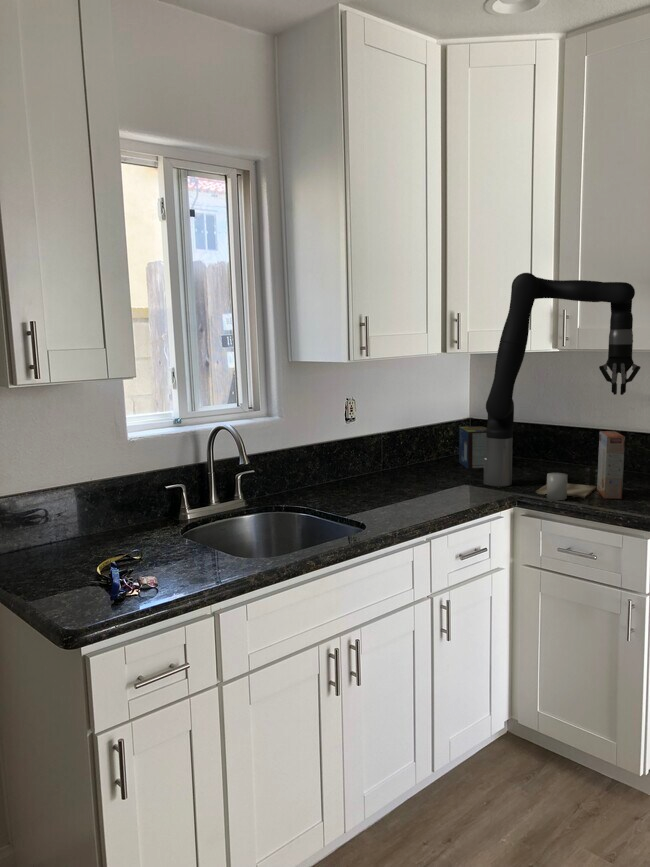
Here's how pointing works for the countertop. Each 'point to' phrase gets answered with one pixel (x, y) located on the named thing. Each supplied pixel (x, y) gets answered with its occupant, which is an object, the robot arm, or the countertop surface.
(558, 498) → the white rounded dome
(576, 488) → the maple board
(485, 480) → the robot arm
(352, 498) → the countertop surface
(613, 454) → the cracker box
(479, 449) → the protein box
